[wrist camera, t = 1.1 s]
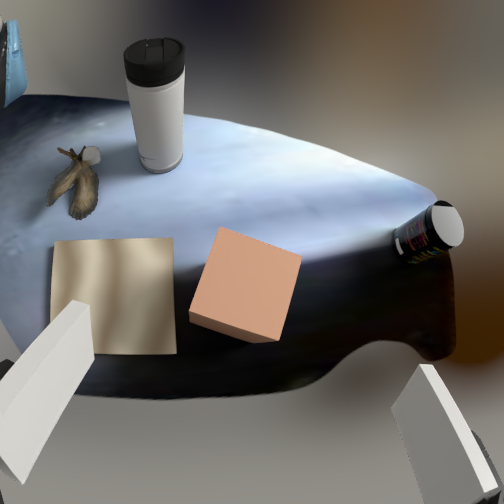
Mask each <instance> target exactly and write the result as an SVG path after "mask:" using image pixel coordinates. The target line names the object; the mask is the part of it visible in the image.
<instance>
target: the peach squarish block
mask: <svg viewBox="0 0 504 504" xmlns="http://www.w3.org/2000/svg"><path fill="white" fill-rule="evenodd" d="M301 259H302V256H300V255H297V254H294V253H292V252H289V251H286V250H283V249H281V248H278V247H275V246H273V245H270V244H267V243H264V242H262V241H259V240H256V239H253V238H251V237H248V236H245V235H242V234H240V233H237V232H234V231H231V230H228V229H226V228H223V227H219V230H218V233H217V235H216V238H215V241H214V243H213V246H212V249H211V251H210V254H209V257H208V259H207V262H206V265H205V268H204V270H203V273H202V276H201V278H200V281H199V284H198V287H197V290H196V292H195V295H194V298H193V301H192V304H191V306H190V309H189V317H190V322H191V323H194V324H197V325H200V326H202V327H205V328H208V329H211V330H214V331H217V332H220V333H223V334H226V335H229V336H232V337H235V338H238V339H241V340H244V341H247V342H251V343H259V342H270V341H279V338H280V335H281V332H282V328H283V325H284V321H285V318H286V314H287V311H288V307H289V304H290V300H291V296H292V293H293V289H294V286H295V282H296V278H297V275H298V271H299V267H300V263H301Z"/></svg>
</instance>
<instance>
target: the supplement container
mask: <svg viewBox="0 0 504 504" xmlns="http://www.w3.org/2000/svg"><path fill="white" fill-rule="evenodd" d="M463 237H464V228H463V223H462V220H461V218H460V216H459V214H458V212H457V211H456V209H455V208H454V207H453V206H452V205H451V204H449V203H448V202H446V201H437V202H435V203H434V204H432V205H431V206H429V207H428V208H427V209H425V210H424V211H422V212H421V213H419V214H418V215H416V216H415V217H413V218H412V219H410V220H409V221H407V222H406V223H404V224H403V225H401V226H400V227H398V228H397V229H396V230H395V232H394V234H393V238H392V245H393V249H394V252H395V254H396V255H397V257H398V258H399V259H400V260H401V261H402V262H403V263H405V264H408V265H416V264H418V263H421V262H423V261H425V260H427V259H429V258H432V257H434V256H436V255H438V254H440V253H442V252H445V251H447V250H450V249H452V248H453V247H455V246H458V245H459V244H460V243H461V242H462V240H463Z"/></svg>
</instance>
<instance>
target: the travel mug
mask: <svg viewBox="0 0 504 504" xmlns="http://www.w3.org/2000/svg"><path fill="white" fill-rule="evenodd" d="M184 62H185V45H184V44H183V43H182V42H181V41H180V40H177V39H174V38H168V37H164V39H162V38H157V39H149V40H147V39H144V40H140V41H137V42H135V43H133V44H132V45H130V46H129V47H128V48H127V49H126V50H125V51H124V64H125V69H126V82H127V89H128V95H129V101H130V107H131V113H132V119H133V125H134V130H135V135H136V141H137V146H138V151H139V155H140V160H141V163H142V165H143V166H144V168H146V169H147V170H148V171H150V172H153V173H166V172H169V171H171V170H173V169H174V168H176V167H177V166H178V165H179V164H180V162H181V160H182V157H183V102H184V75H185V73H184V72H185V65H184V64H185V63H184Z"/></svg>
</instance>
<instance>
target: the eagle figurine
mask: <svg viewBox="0 0 504 504" xmlns="http://www.w3.org/2000/svg"><path fill="white" fill-rule="evenodd" d="M57 149H58V151H59V152H60V153H63V154H65V155H67V156H69V157H70V158H71V159H72V160H73V161H72V163H71V165H70V166H69V167H68V168H66V169H65V171H64V172H62V173H61V174H59V175H57V177H56V178H55V181H53V184H52V185H51V187H50V189H49V191H48V196H47V207H48V206H49V207H50V206H51V205H53V204H54V202H55V201H56V200H57V199H58V198H59V197H60V196H61V195H62V194H64V193H65V192H66V191H67V189H71V188H72V187H73V186H74V184H75V185H76V187H75V195H74V201H73V204H72V207H71V210H70V214H71V215H72V217H73V218H76V220H78V219H79V220H82V219H83V218H86V217H87V215H88V214H91V212H92V211H94V209H95V207H96V205H97V201H98V198H97V197H98V192H97V191H98V185H99V178H98V175H97V174H96V173H95V172H94V171H92V169H91V168H90V167H91V166H93V165H95V164H98V163H99V162H100V151H99V149H98V148H97V147H95V146H90V147H87V148H86V147H85V146H84V147H83V149H82V151H81V153H80V154H79V155H76V153H75V152H74V150H73V149H72V148H71V149H70V152H68V151H65V150H63V149H61V148H57Z"/></svg>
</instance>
